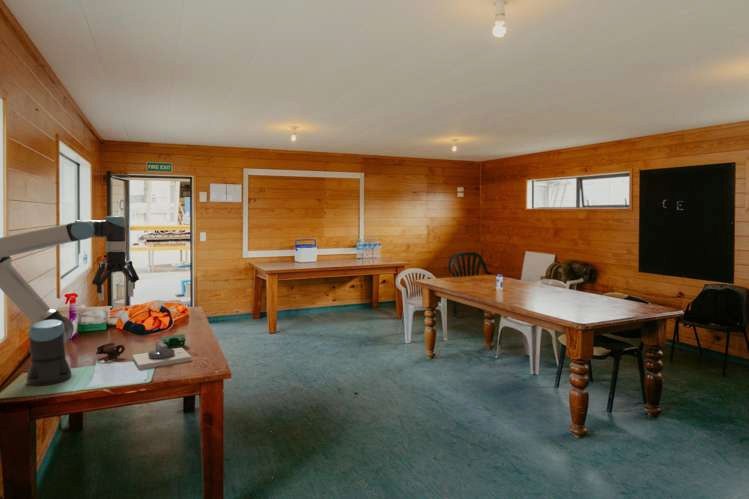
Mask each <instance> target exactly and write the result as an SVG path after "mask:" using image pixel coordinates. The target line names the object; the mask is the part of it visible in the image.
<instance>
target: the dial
mask: <svg viewBox="0 0 749 499" xmlns="http://www.w3.org/2000/svg"><path fill="white" fill-rule="evenodd" d="M154 344H155V346H154V347H155V348H154V350H150V351H149V352H147V353H148V357H149V358H151V359H163V358H168V357H171V356H173V355H174V350H173V349H174V348H169V349H168V348H167V345H166V344H164V343H163V342H162V341H161V339H160V340H155V341H154Z"/></svg>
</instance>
